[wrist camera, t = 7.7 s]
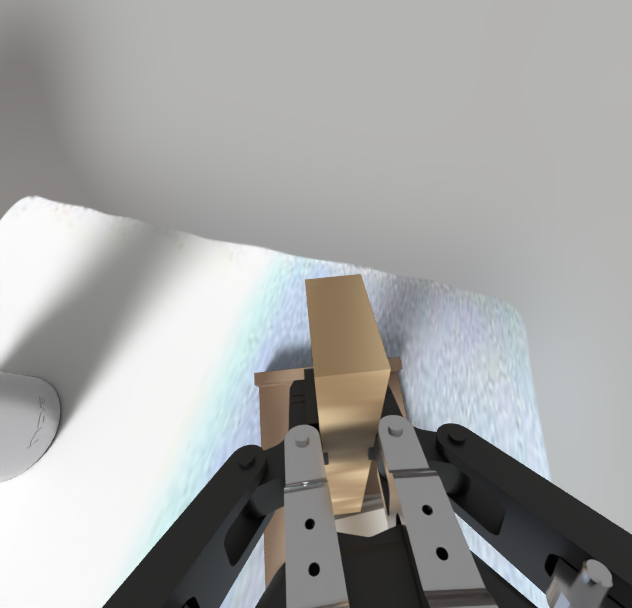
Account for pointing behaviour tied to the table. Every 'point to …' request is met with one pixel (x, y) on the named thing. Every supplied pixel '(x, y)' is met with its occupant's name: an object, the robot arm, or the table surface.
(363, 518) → the upper offcut
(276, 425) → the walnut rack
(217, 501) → the robot arm
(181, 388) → the table surface
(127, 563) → the table surface
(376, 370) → the oak slat
